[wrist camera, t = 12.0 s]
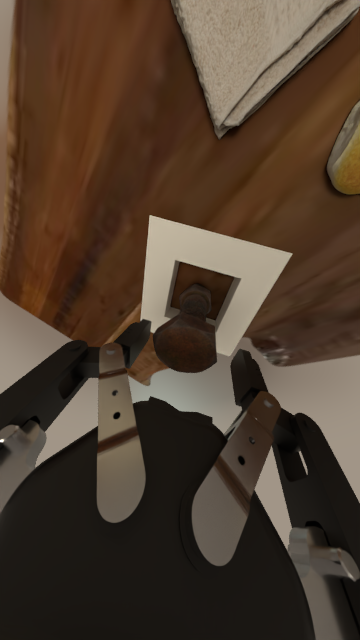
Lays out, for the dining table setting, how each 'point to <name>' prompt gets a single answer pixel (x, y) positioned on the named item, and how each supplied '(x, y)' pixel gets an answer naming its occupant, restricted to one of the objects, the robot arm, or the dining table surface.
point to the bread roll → (347, 156)
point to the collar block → (214, 254)
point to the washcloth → (254, 47)
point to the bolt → (188, 334)
